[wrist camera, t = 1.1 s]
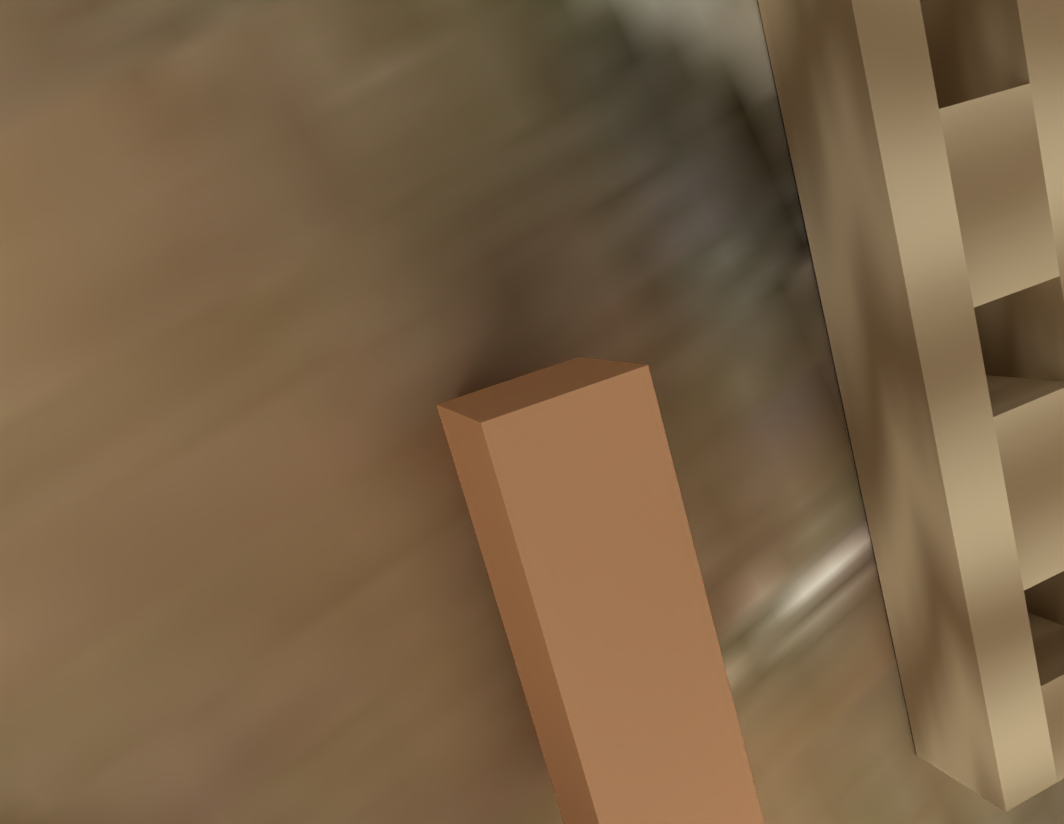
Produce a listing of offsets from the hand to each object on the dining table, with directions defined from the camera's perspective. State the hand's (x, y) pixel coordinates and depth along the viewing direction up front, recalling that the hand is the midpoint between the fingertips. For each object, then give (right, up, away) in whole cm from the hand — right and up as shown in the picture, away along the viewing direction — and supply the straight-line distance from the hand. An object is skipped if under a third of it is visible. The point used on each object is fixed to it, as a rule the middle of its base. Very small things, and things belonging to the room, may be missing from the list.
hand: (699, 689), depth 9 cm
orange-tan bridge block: (-1, -1, +12) cm, 12 cm away
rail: (+9, +5, +15) cm, 18 cm away
